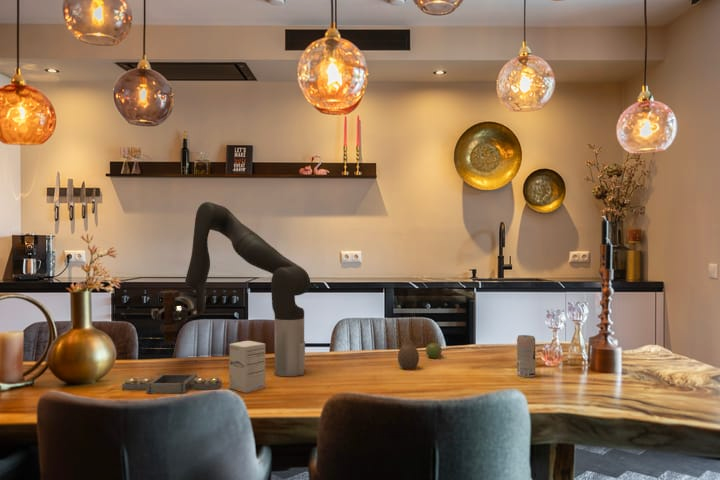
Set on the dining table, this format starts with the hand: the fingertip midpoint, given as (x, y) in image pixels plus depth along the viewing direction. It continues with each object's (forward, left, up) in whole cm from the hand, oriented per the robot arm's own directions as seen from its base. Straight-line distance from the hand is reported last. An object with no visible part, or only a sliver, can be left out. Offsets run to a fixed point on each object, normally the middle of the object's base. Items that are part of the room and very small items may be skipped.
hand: (167, 316), depth 152 cm
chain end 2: (-7, +3, -20) cm, 21 cm away
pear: (-83, -37, -20) cm, 93 cm away
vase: (-72, -19, -20) cm, 77 cm away
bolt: (0, -3, -8) cm, 9 cm away
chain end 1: (+2, +3, -20) cm, 20 cm away
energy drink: (-107, -8, -20) cm, 109 cm away
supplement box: (-24, +4, -20) cm, 31 cm away
